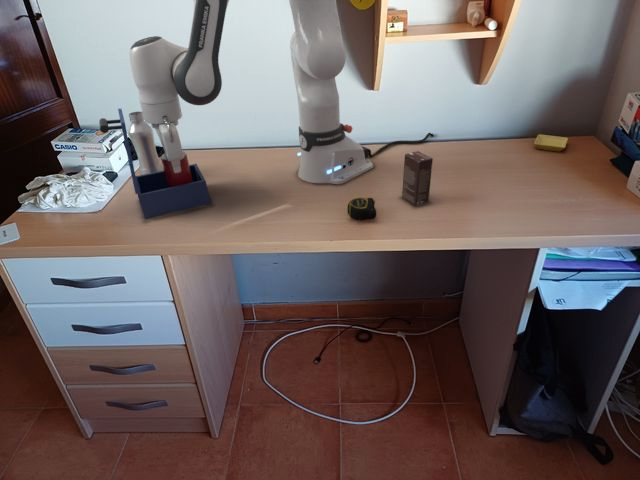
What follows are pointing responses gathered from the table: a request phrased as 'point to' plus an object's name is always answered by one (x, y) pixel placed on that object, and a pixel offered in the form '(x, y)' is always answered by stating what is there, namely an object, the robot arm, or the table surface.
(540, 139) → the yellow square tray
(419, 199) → the box
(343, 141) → the robot arm
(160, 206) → the box
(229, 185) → the table surface
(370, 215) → the tape measure
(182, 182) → the can
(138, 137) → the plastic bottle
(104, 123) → the lid
